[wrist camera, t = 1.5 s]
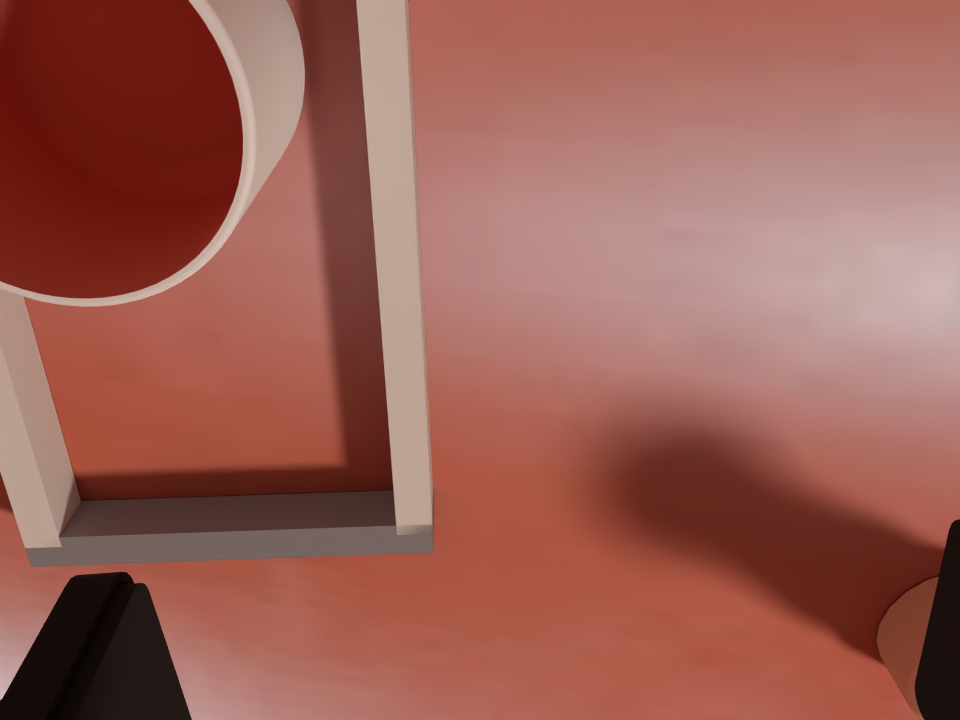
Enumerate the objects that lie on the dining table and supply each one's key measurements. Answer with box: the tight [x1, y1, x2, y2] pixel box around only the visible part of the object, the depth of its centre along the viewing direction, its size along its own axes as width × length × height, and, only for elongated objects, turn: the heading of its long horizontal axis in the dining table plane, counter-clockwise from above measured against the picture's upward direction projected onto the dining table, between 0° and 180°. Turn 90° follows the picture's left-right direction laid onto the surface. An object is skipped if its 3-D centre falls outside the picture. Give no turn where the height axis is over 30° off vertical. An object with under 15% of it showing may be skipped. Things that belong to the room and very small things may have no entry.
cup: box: [0, 0, 305, 306], centre depth 26 cm, size 10×10×10 cm
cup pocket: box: [0, 0, 434, 567], centre depth 32 cm, size 25×17×2 cm
